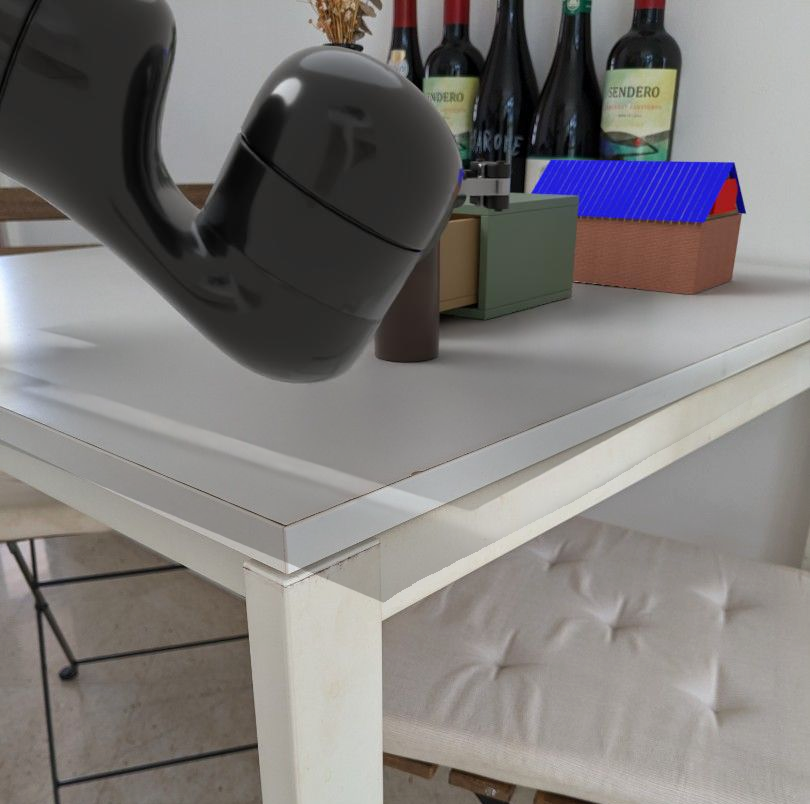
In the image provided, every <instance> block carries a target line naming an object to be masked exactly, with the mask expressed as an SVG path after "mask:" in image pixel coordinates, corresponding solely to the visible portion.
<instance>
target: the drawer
mask: <svg viewBox="0 0 810 804" xmlns="http://www.w3.org/2000/svg"><path fill="white" fill-rule="evenodd" d="M481 216H482V215H467V214H452V215H451V218H450V220H449V222H448V224H447V226H446V228H445V229H444V231H443V233H442V235H441V236H440V303H439V312H441V311H446V310H450V309H454V308H458V307H462V306H466V305H470V304H474V303H478V298H479V266H480V234H481Z"/></svg>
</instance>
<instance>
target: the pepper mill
mask: <svg viewBox="0 0 810 804" xmlns="http://www.w3.org/2000/svg"><path fill="white" fill-rule="evenodd" d="M439 303H440V238H439V240H438V242H437V243H436V244H435V246H434V247H433V248H432V250H431V251H430V252H429V253H428V254H427V255H426V256H425V257H424V258H423V259H422V260H421V261H419V262H418V263H417V264H416V266H415V267H414V269H413V271H412V272H411V274H410V276H409V277H408V279H407V281H406V282H405V284H404V286H403V287H402V289H401V291H400V292H399V294H398V296H397V297H396V299H395V301H394V302H393V304H392V306H391V307H390V309H389V311H388V312H387V314H386V316H385V317H383V321H382V322H381V324H380V326H379V327H378V329H377V331H376V332H375V334H374V336H373V337H374V356H375V357H376V358H378V359H379V360H384V361H389V362H397V363H398V362H399V363H400V362H401V363H413V362H424V361H429V360H433V359H435V358H437V357H438V356H439V355H440V313H439Z"/></svg>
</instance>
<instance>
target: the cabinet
mask: <svg viewBox="0 0 810 804" xmlns="http://www.w3.org/2000/svg"><path fill="white" fill-rule="evenodd" d="M578 204H579V196H577V195H553V194H531V193H527V192H526V193H525V192H510V195H509V209H503V211H502V212H495V211H494V210H495V209H488V208H478V207H477V206H475V204H471V203H470V196H467V197H466V201H465V203H464V204H463V205H462V206H460V207H458V208H454V209H453V213H452V214H467V215H482V216H481V234H480V266H479V298H478V303H474V304H470V305H466V306H462V307H458V308H454V309H450V310H446V311H441V312H439V315H440V314H441V315H448V316H455V317H460V318H469V319H475V320H481V321H486V320H490V319H494V318H498V317H502V316H505V314H506V315H509V314H513V313H516V311H517V312H520V311H524V310H528V309H531V307H532V308H535V307H538V305H539V306H542V304H543V305H546V304H550V303H553V302H552V301H554V302H557V301H556V300H558V301H560V299H561V300H565V299H568V298H567V297H569V298H571V297H572V294H573V284H574V282H573V271H574V258H575V245H576V232H577V218H578ZM570 296H571V297H570ZM564 298H565V299H564ZM527 308H528V309H527ZM523 309H524V310H523ZM512 312H513V313H512Z"/></svg>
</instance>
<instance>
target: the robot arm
mask: <svg viewBox="0 0 810 804" xmlns="http://www.w3.org/2000/svg"><path fill="white" fill-rule="evenodd" d="M177 45H178V30H177V21H176V18H175V16H174V12H173V11H172V8H171V6H170V4H169V3H168V1H167V0H0V174H1V175H3V176H5V177H6V178H8V179H10V180H11V181H14V182H15V183H17V184H19V185H21V186H22V187H24V188H26V189H27V190H29V191H31V192H32V193H34V194H36V195H37V196H38V197H40V198H41V199H43V200H44V201H46V202H47V203H49V204H50V205H51V206H53V208H55V209H57V210H58V211H60V212H61V213H62V214H63V215H65V216H66V217H67V218H69V219H70V220H71V221H72V222H74V224H76V225H78V227H80V228H81V229H83V230H84V231H85V232H86V233H88V234H89V235H90V236H91V237H92V238H93V239H95V240H96V241H98V243H100V244H101V245H102V246H103V247H105V248H106V249H107V250H108V251H109V252H111V253H112V254H113V255H114V256H115V257H117V258H118V259H119V260H120V261H122V262H123V263H124V264H125V265H126V266H127V267H128V268H130V269H131V270H132V271H133V272H135V274H137V276H139V277H140V278H141V279H142V280H143V281H144V282H145V283H146V284H148V285H149V286H150V288H152V289H153V290H154V291H155V292H156V293H157V294H159V296H160V297H161V298H163V299H164V300H165V301H166V302H167V303H168V304H169V305H170V306H171V307H172V308H173V309H174V310H175V311H176V312H177V313H179V315H181V317H183V318H184V320H186V321H187V323H189V324H190V325H191V326H192V327H193V328H194V329H195V330H197V332H199V333H200V334H201V335H202V336H203V337H204V338H205V339H206V340H207V341H209V342H210V343H211V344H212V345H213V346H215V347H216V348H217V349H218V350H219V351H220V352H222V353H223V354H224V355H225V356H227V357H228V358H229V359H230V360H232V361H233V362H235V363H236V364H238V365H240V366H241V367H242V368H244V369H246V370H248V371H250V372H252V373H254V374H256V375H258V376H261V377H263V378H265V379H269V380H272V381H276V382H279V383H285V384H291V385H313V384H321V383H326V382H329V381H331V380H335V379H337V378H339V377H341V376H343V375H344V374H346V373H347V372H348V371H350V369H351V368H352V367H353V366H354V365H355V364H356V363H357V362H358V360H359V359H360V358H361V356H362V355H363V353H364V352H365V350H366V349H367V347H368V345H369V343H370V342H371V341H372V339H373V337H374V334H375V332H376V331H377V329H378V327H379V326H380V324H381V322H382V321H383V317H385V316H386V314H387V312H388V311H389V309H390V307H391V306H392V304H393V302H394V301H395V299H396V297H397V296H398V294H399V292H400V291H401V289H402V287H403V286H404V284H405V282H406V281H407V279H408V277H409V276H410V274H411V272H412V271H413V269H414V267H415V266H416V264H417V263H418V262H419V261H421V260H422V259H423V258H424V257H425V256H426V255H427V254H428V253H429V252H430V251H431V250H432V248H433V247H434V246H435V244H436V243H437V242H438V240H439V238H440V236H441V235H442V233H443V231H444V229H445V228H446V226H447V224H448V222H449V220H450V218H451V215H452V213H453V209H454V208H458V207H460V206H462V205H463V204H464V203H465V201H466V197H467V196H470V203H471V204H475V206H477V207H478V208H488V209H495V210H494V211H495V212H502V211H503V209H509V195H510V193H511V171H512V169H511V167H512V163H506V161H505V160H496V161H487V160H485V158H476V159H475V160H476V161H470V168H469V169H464V163H463V158H462V154H461V151H460V147H459V144H458V142H457V140H456V137H455V136H454V134H453V132H452V130H451V128H450V126H449V124H448V123H447V122H446V120H445V118H444V117H443V116H442V115H441V112H439V110H438V108H437V107H436V106H435V105H434V103H433V102H432V101H431V100H430V99H429V98H428V96H426V94H425V93H424V92H422V90H421V89H419V87H417V86H416V85H415V83H413V82H412V81H411V80H410V79H408V77H406V76H405V75H403V74H402V73H401V72H399V71H398V70H396V69H395V68H393V67H391V66H390V65H389V64H387V63H385V62H384V61H382V60H380V59H378V58H376V57H374V56H372V55H370V54H367V53H364V52H362V51H360V50H356V49H353V48H348V47H343V46H338V45H315V46H309V47H305V48H303V49H301V50H298V51H295V52H294V53H292V54H291V55H289V56H288V57H286V58H284V60H282V61H281V63H279V64H278V65H276V67H274V69H273V70H272V71H271V72H269V75H268V76H267V78H266V79H265V80H264V82H263V83H262V85H261V86H260V88H259V90H258V91H257V93H256V95H255V97H254V99H253V101H252V103H251V104H250V107H249V109H248V111H247V113H246V115H245V117H244V119H243V121H242V124H241V125H240V132H238V133H237V134H236V136H235V138H234V140H233V142H232V145H231V147H230V149H229V151H228V153H227V155H226V157H225V160H224V162H223V163H222V166H221V168H220V170H219V173H218V174H217V177H216V179H215V181H214V183H213V185H212V188H211V189H210V192H209V194H208V196H207V198H206V201H205V202H204V204H203V206H202V207H201V209H200V208H198V207H197V206H195V205H194V204H193V203H192V202H191V201H189V199H188V198H187V197H186V196H185V195H184V194H183V192H182V191H181V190H180V188H178V186H177V184H176V183H175V181H174V179H173V177H172V176H171V175H172V174H171V173H170V172H169V169H168V167H167V165H166V162H165V159H164V155H163V151H162V135H163V133H162V132H163V122H164V116H165V112H166V111H165V110H166V104H167V101H168V100H167V99H168V94H169V90H170V86H171V85H170V84H171V81H172V76H173V72H174V68H175V67H174V66H175V61H176V55H177V54H176V53H177Z"/></svg>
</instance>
